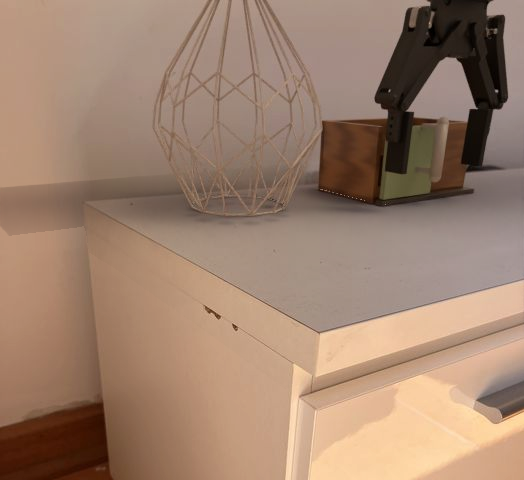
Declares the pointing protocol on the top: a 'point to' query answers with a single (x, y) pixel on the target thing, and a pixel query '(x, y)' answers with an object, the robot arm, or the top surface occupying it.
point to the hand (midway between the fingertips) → (435, 169)
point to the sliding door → (418, 162)
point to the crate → (368, 160)
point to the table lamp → (193, 157)
